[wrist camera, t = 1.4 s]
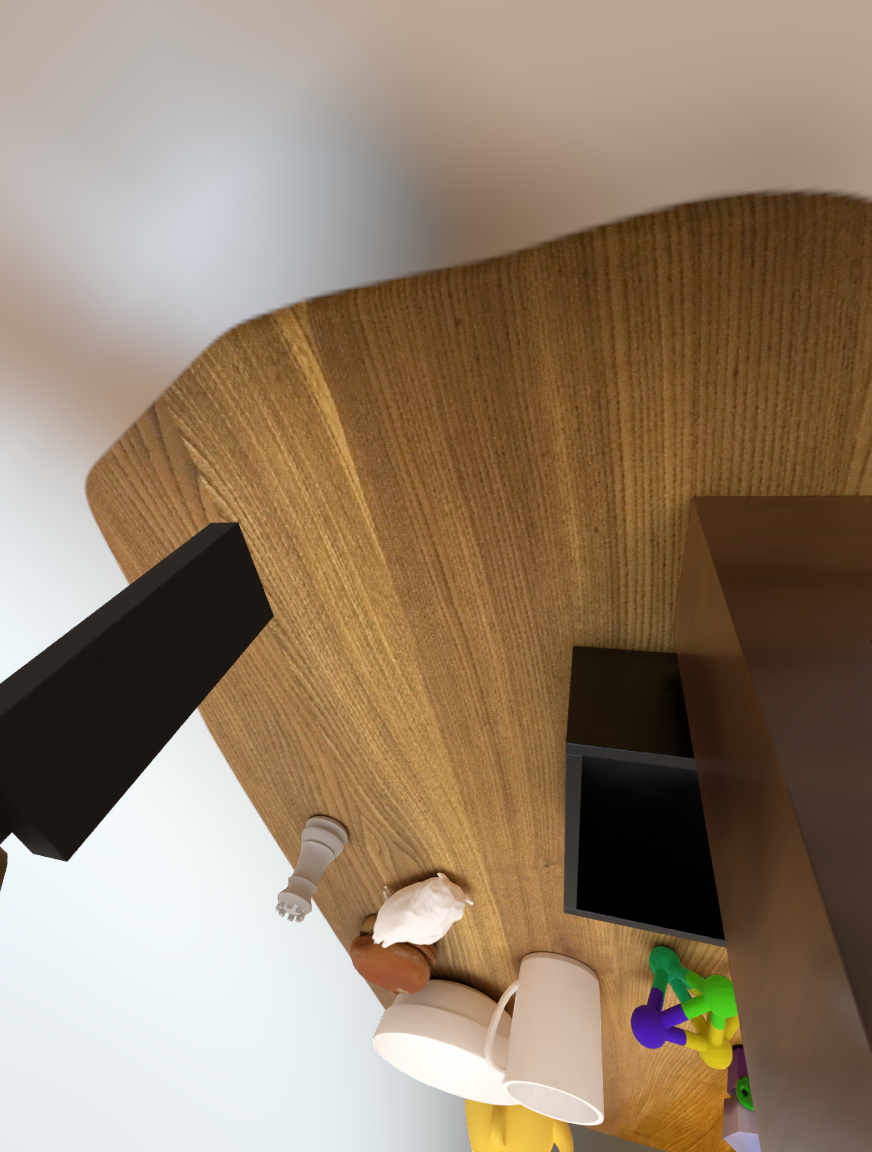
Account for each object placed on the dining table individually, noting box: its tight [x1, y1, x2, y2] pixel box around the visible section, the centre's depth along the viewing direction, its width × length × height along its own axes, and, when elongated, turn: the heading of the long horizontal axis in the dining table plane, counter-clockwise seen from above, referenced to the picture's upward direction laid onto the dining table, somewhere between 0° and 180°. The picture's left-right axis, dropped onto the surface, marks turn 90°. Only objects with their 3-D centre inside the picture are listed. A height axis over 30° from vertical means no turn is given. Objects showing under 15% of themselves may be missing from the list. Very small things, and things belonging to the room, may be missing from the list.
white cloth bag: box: [372, 873, 473, 948], centre depth 50 cm, size 5×7×10 cm
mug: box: [484, 952, 604, 1125], centre depth 51 cm, size 11×9×10 cm
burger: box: [351, 915, 436, 995], centre depth 59 cm, size 10×9×5 cm
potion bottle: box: [723, 1045, 761, 1152], centre depth 49 cm, size 9×9×12 cm
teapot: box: [465, 1098, 573, 1152], centre depth 69 cm, size 14×14×12 cm
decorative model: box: [631, 946, 740, 1069], centre depth 43 cm, size 13×9×15 cm
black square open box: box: [564, 646, 727, 948], centre depth 30 cm, size 17×17×7 cm
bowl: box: [373, 980, 519, 1105], centre depth 63 cm, size 18×18×7 cm
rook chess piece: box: [276, 816, 348, 922], centre depth 48 cm, size 4×4×8 cm
